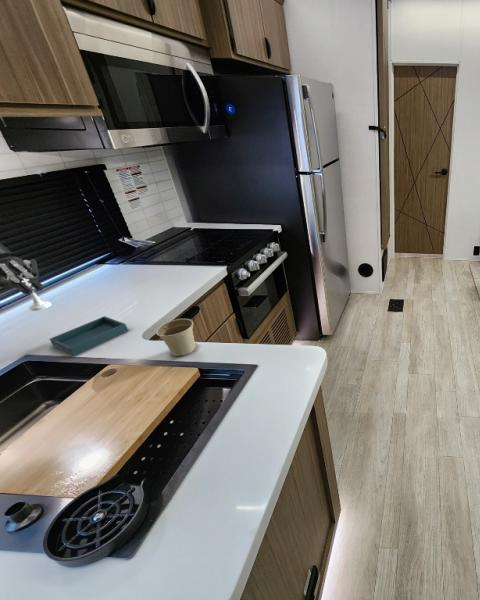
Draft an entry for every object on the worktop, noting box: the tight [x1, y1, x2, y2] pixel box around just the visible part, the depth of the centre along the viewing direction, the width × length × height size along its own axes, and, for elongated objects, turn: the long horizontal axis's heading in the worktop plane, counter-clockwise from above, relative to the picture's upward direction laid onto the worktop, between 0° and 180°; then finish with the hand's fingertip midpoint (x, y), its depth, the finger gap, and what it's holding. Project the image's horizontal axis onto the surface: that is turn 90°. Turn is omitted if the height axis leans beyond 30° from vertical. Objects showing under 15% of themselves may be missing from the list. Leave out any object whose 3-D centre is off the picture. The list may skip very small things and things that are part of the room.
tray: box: [49, 315, 129, 357], centre depth 107 cm, size 15×12×3 cm
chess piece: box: [20, 278, 52, 312], centre depth 102 cm, size 5×5×10 cm
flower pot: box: [155, 318, 196, 357], centre depth 99 cm, size 9×9×9 cm
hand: (35, 291), depth 101 cm, fingers closed on chess piece
